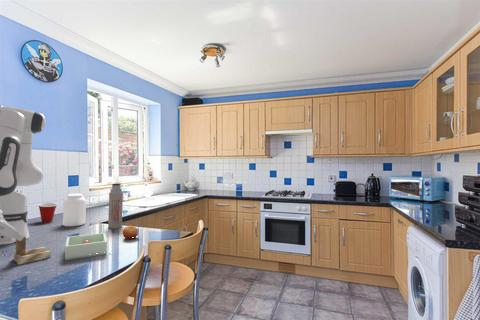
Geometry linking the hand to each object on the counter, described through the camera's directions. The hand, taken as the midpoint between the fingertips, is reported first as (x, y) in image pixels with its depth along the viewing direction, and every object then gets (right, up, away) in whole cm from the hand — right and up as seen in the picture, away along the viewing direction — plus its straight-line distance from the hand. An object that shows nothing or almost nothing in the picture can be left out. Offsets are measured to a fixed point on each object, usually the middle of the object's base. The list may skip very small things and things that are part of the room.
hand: (19, 236), depth 110 cm
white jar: (-16, -10, +62) cm, 65 cm away
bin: (+21, -11, +13) cm, 27 cm away
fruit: (+32, -11, +35) cm, 49 cm away
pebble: (+20, -8, +17) cm, 27 cm away
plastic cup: (-38, -10, +67) cm, 78 cm away
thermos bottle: (+13, -11, +58) cm, 60 cm away
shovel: (+3, -10, +3) cm, 11 cm away
